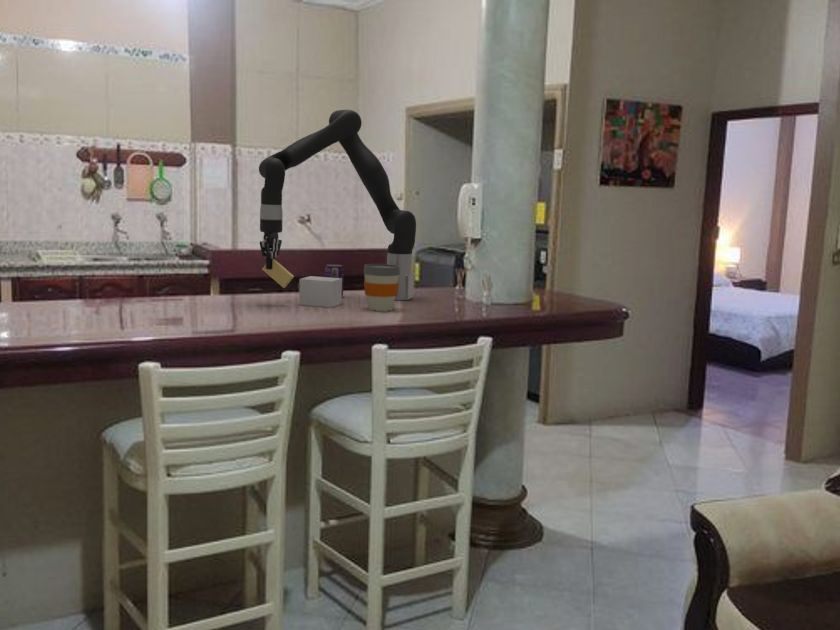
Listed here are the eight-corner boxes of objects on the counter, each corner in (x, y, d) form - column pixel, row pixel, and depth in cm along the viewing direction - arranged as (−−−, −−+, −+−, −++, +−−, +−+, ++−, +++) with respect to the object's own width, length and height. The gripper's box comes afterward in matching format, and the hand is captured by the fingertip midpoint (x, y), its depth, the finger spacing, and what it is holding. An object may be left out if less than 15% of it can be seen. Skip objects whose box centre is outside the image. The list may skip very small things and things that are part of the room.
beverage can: (346, 297, 298) (347, 265, 296) (335, 298, 292) (335, 266, 290) (332, 295, 301) (332, 263, 299) (320, 296, 295) (320, 264, 293)
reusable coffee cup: (398, 312, 267) (399, 268, 264) (361, 311, 267) (362, 266, 264) (398, 307, 279) (400, 264, 277) (363, 305, 279) (364, 263, 277)
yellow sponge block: (285, 287, 271) (294, 276, 270) (283, 287, 269) (291, 276, 268) (264, 268, 272) (272, 257, 271) (261, 269, 270) (270, 257, 269)
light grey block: (341, 303, 281) (342, 278, 280) (331, 307, 272) (332, 281, 270) (308, 300, 284) (308, 276, 283) (297, 304, 275) (297, 278, 273)
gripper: (273, 219, 260) (272, 271, 263) (289, 218, 274) (288, 267, 276) (252, 218, 262) (251, 270, 265) (269, 217, 275) (268, 266, 278)
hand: (270, 268), depth 271 cm, fingers closed on yellow sponge block, 1 cm apart
